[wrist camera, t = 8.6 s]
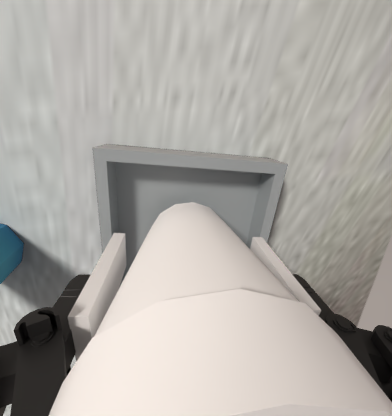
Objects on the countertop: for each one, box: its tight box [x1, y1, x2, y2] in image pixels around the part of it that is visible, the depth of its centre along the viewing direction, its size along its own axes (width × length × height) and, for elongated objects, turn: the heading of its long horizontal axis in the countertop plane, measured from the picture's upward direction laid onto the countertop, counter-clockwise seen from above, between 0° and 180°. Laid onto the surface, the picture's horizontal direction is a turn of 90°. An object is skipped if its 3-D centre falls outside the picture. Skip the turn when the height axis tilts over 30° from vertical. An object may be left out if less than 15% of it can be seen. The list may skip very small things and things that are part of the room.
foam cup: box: [49, 202, 392, 416], centre depth 11 cm, size 10×9×13 cm
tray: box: [93, 144, 288, 288], centre depth 18 cm, size 14×14×3 cm
